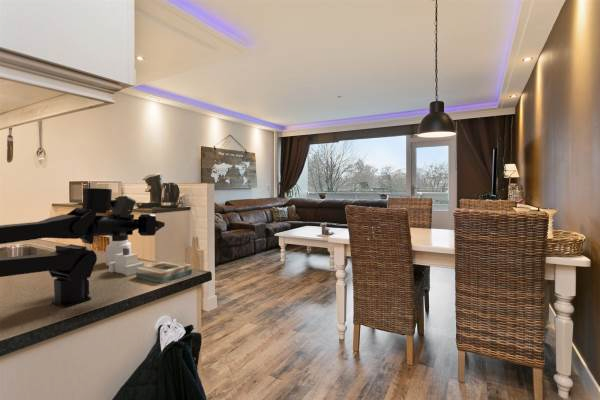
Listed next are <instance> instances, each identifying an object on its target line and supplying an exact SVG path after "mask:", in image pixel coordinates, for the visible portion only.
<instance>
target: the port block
mask: <svg viewBox="0 0 600 400" xmlns="http://www.w3.org/2000/svg"><path fill="white" fill-rule="evenodd" d="M191 273H193V264H191V263H190V264H189V263H184V262H179V261H178V262H177V261H173V260H169V259H168V260H162V261H158V262H155V263H151V264H150V263H149V264H147V265H144V266H142V267H138V268H136V274H135V276H136V278H137V279H142V280H147V281H150V282H156V283H159V282H160V283H159V284H164V283H167V282H170V281H173V280H172V279H174V280H176V278H177V279H179V277H180V278H183V277H185V275H186V276H188V274H189V275H192V274H191ZM182 276H183V277H182ZM169 280H170V281H169ZM166 281H167V282H166ZM163 282H164V283H163Z"/></svg>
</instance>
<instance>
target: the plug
mask: <svg viewBox="0 0 600 400" xmlns="http://www.w3.org/2000/svg"><path fill="white" fill-rule="evenodd" d="M136 263H138V254H137V253H132V252H131V253H130V251H129V248H123V253H120V254H115V273H118V274H122V275H125V271H124V266H128V265H132V264H136Z"/></svg>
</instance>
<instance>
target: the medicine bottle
mask: <svg viewBox="0 0 600 400" xmlns="http://www.w3.org/2000/svg"><path fill="white" fill-rule="evenodd" d="M108 237H109V240H108V241H109V244H107V245H106V246H105V265H106V266H108V267H109V263H111V262H115V254H120V253H123V248H129V251H130V253H132V243H131V241H129V235H120V236H108Z"/></svg>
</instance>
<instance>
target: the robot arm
mask: <svg viewBox="0 0 600 400" xmlns="http://www.w3.org/2000/svg"><path fill="white" fill-rule="evenodd" d="M112 192H113V189H111V188H96V187H94V188H93V187H92V188H89V187H88V188H87V187H86V188H85V187H84V188H82V207H75V208H74V209H72V210H71V211H69V212H67V213H66V214H61V215H55V216H51V217H48V218H45V219H43V220H40V221H34V222H33V221H32V222H31V221H30V222H23V223H11V224H0V245H3V244H10V243H19V242H26V241H33V240H41V239H63V240H64V239H66V240H67V239H68V240H69V239H71V240H73V239H74V240H77V239H80V240H81V242H82V243H83V244H89V245H94V239H95V237H109V236H120V235H128V236H130V235H131V236H133V233H134V231H135V230H137V233H138V235H139V236H144V237H147V236H148V237H150V236H155V235H156V232H158V231H159V230H161V229H162V228H164V227H165V225H166V224H165V222H163V221H160V220H157V215H156V214H154V213H149V214H148V213H145V214H143V213H142V214H140V215H139V216H138V218H135V214H132V212H133V210H134V207H135V205H136V204H137V201H136V199H135V198H134V199H133V198H132V197H129V196H127V195H121V196H119V195H118V196H117V197H115V198H114V199H113V200H112V195H113V193H112ZM110 211H111V214H107V215H106V213H107V212H110ZM97 214H98V215H97ZM99 214H104V215H99ZM97 256H98V255H97V253H96V252H95V251H94V250H93V249H91V248H90V249H89V248H88V247H87V246H84V245H78V244H73V243H71V244H68V245H55V250H54V251H52V252H49V253H43V254H33V255H32V254H31V255H30V254H29V255H19V256H17V255H16V256H7V257H5V256H4V257H0V278H2V277H10V276H18V275H26V274H34V273H43V272H48V273H49V275H50V277H51V278H53V279H54V280H53V291H54V296H53V297H54V299H51V300H50V303H51V304H54V305H57V306H60V307H62V308H66V307H71V306H72V305H76V304H80V303H83V302H86V301H89V300H92V296H90V280H89V278H91V275H92V272H93V270H94V267H95V266H96V263H97V259H98V257H97Z"/></svg>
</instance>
